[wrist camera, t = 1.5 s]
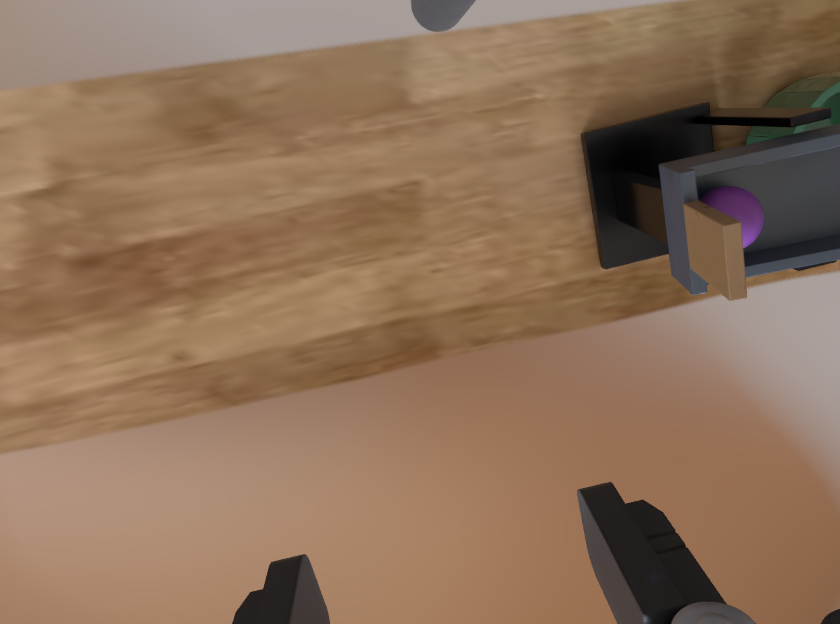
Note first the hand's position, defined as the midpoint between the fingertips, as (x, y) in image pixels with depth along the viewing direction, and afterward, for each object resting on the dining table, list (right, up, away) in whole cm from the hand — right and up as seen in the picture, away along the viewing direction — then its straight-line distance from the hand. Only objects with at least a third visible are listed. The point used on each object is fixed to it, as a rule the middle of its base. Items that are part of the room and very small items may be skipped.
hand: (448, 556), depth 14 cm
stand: (+15, +14, +28) cm, 34 cm away
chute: (+17, +11, +18) cm, 27 cm away
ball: (+14, +10, +17) cm, 24 cm away
